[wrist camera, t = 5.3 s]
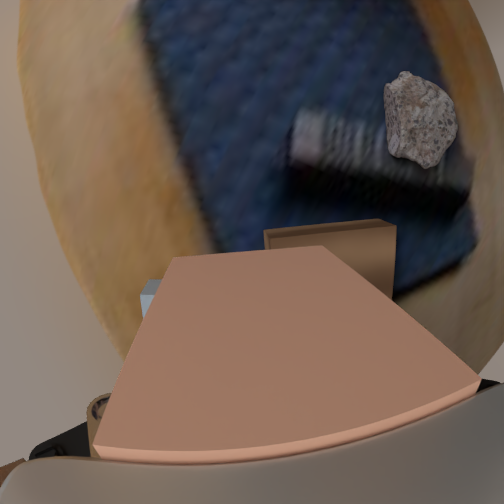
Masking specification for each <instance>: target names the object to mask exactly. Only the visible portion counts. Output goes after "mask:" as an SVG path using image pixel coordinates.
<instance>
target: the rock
mask: <svg viewBox="0 0 504 504" xmlns="http://www.w3.org/2000/svg"><path fill="white" fill-rule="evenodd" d="M384 108H385V114H386V126H387V130H386V134H387V145H388V150H389V152H390V154H392V155H393V156H395V157H398V158H400V157H402V158H408V159H410V160H411V161H414V162H416V163H418V164H419V165H420V166H421V167H422V168H424V169H427V168H429V167H434V166H435V165H437V164H438V163H439V161H440V160H441V157H442V156H443V155H444V152H445V151H446V149H447V148H448V147H449V146H450V145H451V143H452V142H453V141H454V139H455V137H456V131H457V130H458V123H457V120H456V116H455V111H454V103H453V101H452V100H451V99H450V97H449V96H448V94H447V93H446V92H445V91H444V90H442V89H441V88H439V87H438V86H437V85H435V84H434V83H431V82H429V81H425V80H424V79H423V78H421V77H419V76H413V75H412V74H411V73H410V72H409V71H403V72H401V73H400V74H399V76H398V78H397V79H396V80H394V81H393V82H392V83H388V84H385V88H384Z"/></svg>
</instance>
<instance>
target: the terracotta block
mask: <svg viewBox="0 0 504 504" xmlns="http://www.w3.org/2000/svg"><path fill="white" fill-rule="evenodd" d="M481 380H482V379H481V378H480V377H479V376H478V375H477V374H476V373H475V372H474V371H473V370H472V369H471V368H470V367H468V366H467V365H466V364H465V363H464V362H463V361H462V360H461V359H460V358H458V357H457V356H456V355H455V354H454V353H453V352H452V351H451V350H449V349H448V348H447V347H446V346H445V345H444V344H443V343H441V342H440V341H439V340H438V339H437V338H436V337H435V336H433V335H432V334H431V333H430V332H429V331H428V330H426V329H425V328H424V327H423V326H422V325H421V324H419V323H418V322H417V321H416V320H415V319H414V318H412V317H411V316H410V315H409V314H408V313H406V312H405V311H404V310H403V309H402V308H400V307H399V306H398V305H397V304H396V303H394V302H393V301H392V300H391V299H389V298H388V297H387V296H386V295H385V294H383V293H382V292H381V291H380V290H378V289H377V288H376V287H375V286H373V285H372V284H371V283H370V282H368V281H367V280H366V279H365V278H363V277H362V276H361V275H360V274H358V273H357V272H356V271H355V270H353V269H352V268H351V267H349V266H348V265H347V264H346V263H344V262H343V261H342V260H340V259H339V258H338V257H337V256H335V255H334V254H333V253H331V252H330V251H329V250H327V249H326V248H325V247H324V246H322V245H320V246H307V247H295V248H283V249H271V250H258V251H246V252H234V253H222V254H210V255H198V256H186V257H174V258H173V259H172V261H171V263H170V265H169V267H168V269H167V271H166V273H165V275H164V277H163V279H162V281H161V283H160V285H159V287H158V289H157V291H156V293H155V295H154V298H153V300H152V302H151V304H150V306H149V308H148V310H147V312H146V315H145V317H144V319H143V321H142V323H141V325H140V328H139V330H138V332H137V334H136V337H135V339H134V341H133V343H132V346H131V348H130V350H129V352H128V355H127V357H126V359H125V362H124V364H123V367H122V369H121V371H120V374H119V376H118V379H117V381H116V384H115V386H114V389H113V391H112V393H111V396H110V398H109V401H108V404H107V406H106V409H105V411H104V414H103V417H102V419H101V422H100V425H99V427H98V430H97V433H96V436H95V438H94V441H93V444H92V445H93V446H94V448H95V450H96V451H97V453H98V454H99V456H100V457H101V459H103V460H113V461H124V462H137V463H153V464H214V463H230V462H242V461H253V460H261V459H269V458H276V457H283V456H289V455H295V454H301V453H306V452H311V451H316V450H320V449H325V448H329V447H334V446H338V445H342V444H346V443H349V442H353V441H357V440H360V439H364V438H367V437H370V436H373V435H377V434H380V433H383V432H386V431H389V430H392V429H395V428H397V427H400V426H403V425H406V424H408V423H411V422H414V421H416V420H419V419H421V418H424V417H426V416H429V415H431V414H433V413H436V412H438V411H440V410H443V409H445V408H447V407H449V406H451V405H454V404H456V403H458V402H460V401H462V400H464V399H466V398H468V397H470V396H473V395H475V393H476V391H477V389H478V387H479V384H480V382H481Z"/></svg>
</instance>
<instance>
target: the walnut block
mask: <svg viewBox="0 0 504 504" xmlns="http://www.w3.org/2000/svg"><path fill="white" fill-rule="evenodd" d="M264 241H265V250H271V249H283V248H295V247H307V246H320V245H322V246H324V247H325V248H326V249H327V250H329V251H330V252H331V253H333V254H334V255H335V256H337V257H338V258H339V259H340V260H342V261H343V262H344V263H346V264H347V265H348V266H349V267H351V268H352V269H353V270H355V271H356V272H357V273H358V274H360V275H361V276H362V277H363V278H365V279H366V280H367V281H368V282H370V283H371V284H372V285H373V286H375V287H376V288H377V289H378V290H380V291H381V292H382V293H383V294H385V295H386V296H387V297H388V298H389V299H391V300H392V292H393V281H394V268H395V251H396V225H393V224H391V223H388V222H385V221H383V220H380V219H371V220H359V221H348V222H338V223H327V224H317V225H306V226H296V227H287V228H277V229H267V230H264Z"/></svg>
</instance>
